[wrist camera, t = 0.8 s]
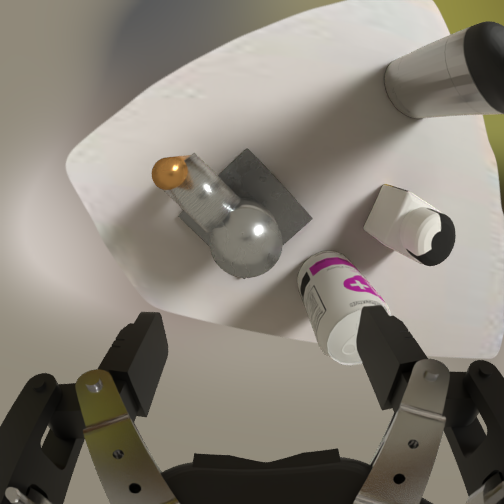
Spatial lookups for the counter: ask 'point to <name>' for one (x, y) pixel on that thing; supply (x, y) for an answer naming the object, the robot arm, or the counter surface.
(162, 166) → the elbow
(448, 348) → the counter surface
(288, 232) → the grey stand with base
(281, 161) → the counter surface
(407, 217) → the medicine bottle
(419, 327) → the counter surface
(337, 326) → the supplement can
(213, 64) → the counter surface
